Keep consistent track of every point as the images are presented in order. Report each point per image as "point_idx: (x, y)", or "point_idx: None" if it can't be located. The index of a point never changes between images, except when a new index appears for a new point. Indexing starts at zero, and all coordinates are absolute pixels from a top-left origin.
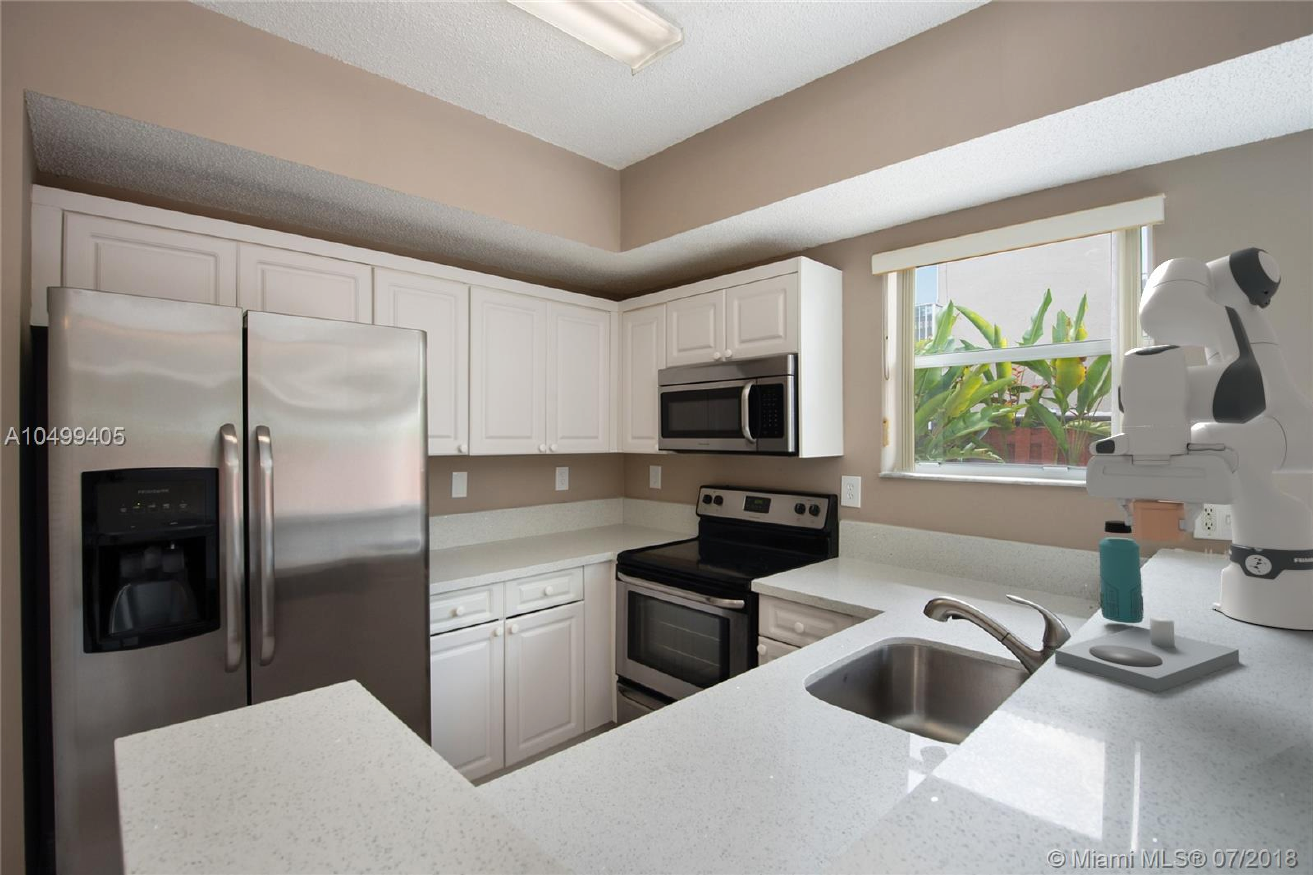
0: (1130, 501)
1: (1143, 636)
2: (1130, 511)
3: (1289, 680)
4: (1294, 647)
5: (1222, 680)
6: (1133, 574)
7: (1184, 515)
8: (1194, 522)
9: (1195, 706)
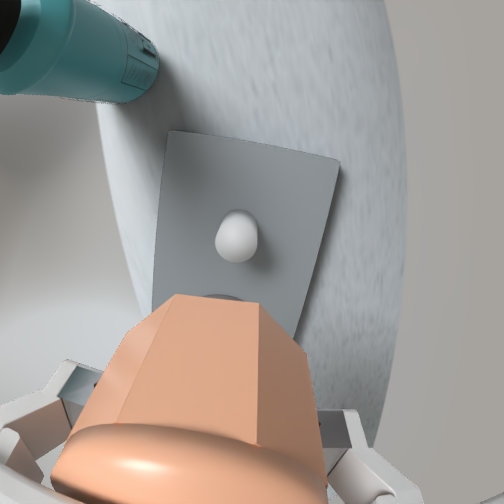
0: (19, 459)
1: (199, 197)
2: (49, 422)
3: (394, 207)
4: (375, 5)
5: (328, 276)
6: (105, 64)
7: (322, 450)
8: (361, 440)
9: (313, 381)
